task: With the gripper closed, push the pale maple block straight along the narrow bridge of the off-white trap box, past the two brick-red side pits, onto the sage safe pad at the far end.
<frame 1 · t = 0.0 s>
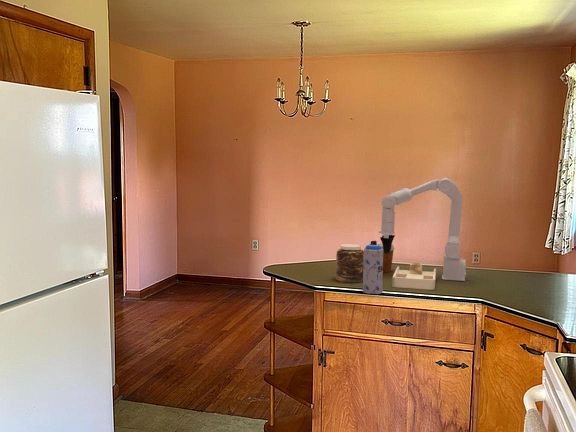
hand: (387, 252, 239), 10 cm above the worktop, fingers open, 5 cm apart
aerosol can: (372, 292, 208), on the worktop
disposable coffee cup: (384, 271, 248), on the worktop, touching gripper
trap box: (414, 282, 225), on the worktop
jar: (349, 280, 228), on the worktop
maple block: (415, 273, 231), point 2 cm above the worktop, touching trap box
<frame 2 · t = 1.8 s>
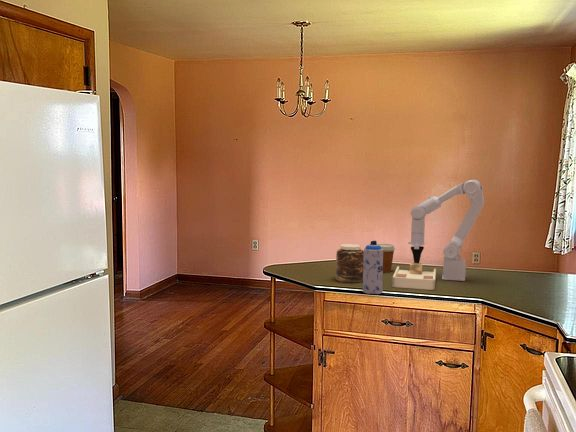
hand: (416, 262, 238), 6 cm above the worktop, fingers closed
disposable coffee cup: (384, 271, 248), on the worktop
everything else where it was.
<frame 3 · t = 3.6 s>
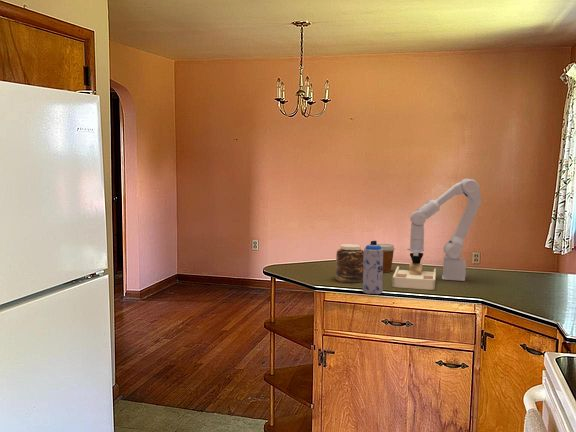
hand: (416, 269, 234), 4 cm above the worktop, fingers closed
maple block: (415, 273, 230), point 3 cm above the worktop, touching gripper
everything else where it was.
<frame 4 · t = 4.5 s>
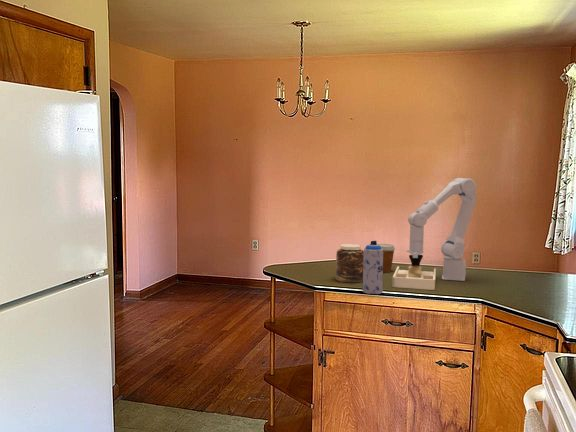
hand: (415, 271, 229), 4 cm above the worktop, fingers closed
maple block: (414, 276, 225), point 3 cm above the worktop, touching gripper
everything else where it was.
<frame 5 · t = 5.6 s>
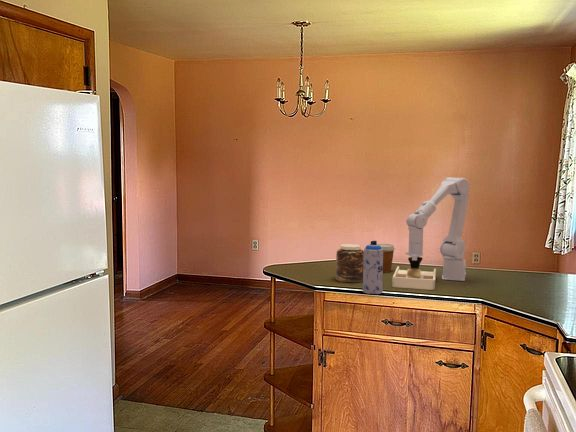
hand: (414, 274, 223), 4 cm above the worktop, fingers closed
maple block: (413, 278, 219), point 3 cm above the worktop, touching gripper
everything else where it was.
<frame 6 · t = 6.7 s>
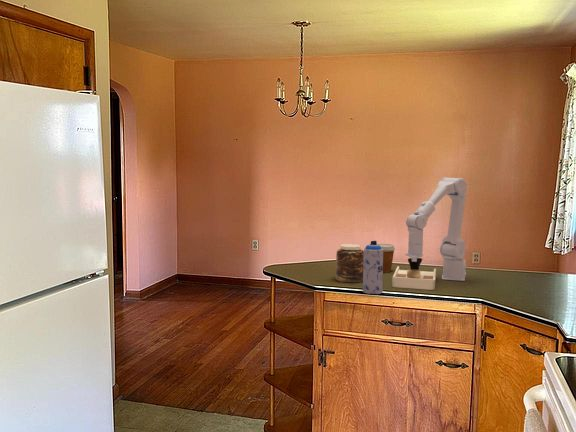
hand: (414, 275, 221), 4 cm above the worktop, fingers closed
maple block: (413, 280, 217), point 2 cm above the worktop, touching gripper, trap box
everything else where it was.
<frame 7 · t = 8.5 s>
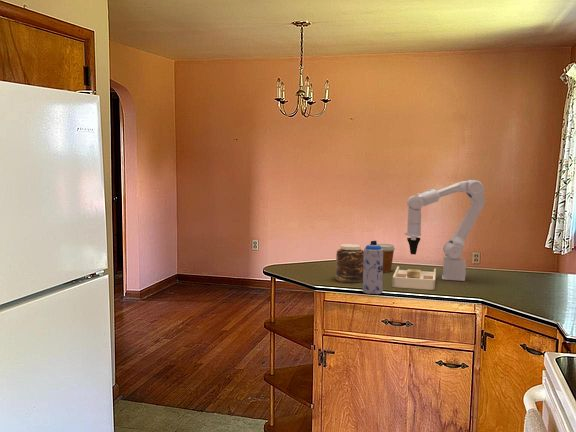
hand: (413, 254, 233), 10 cm above the worktop, fingers closed
maple block: (413, 280, 217), point 2 cm above the worktop, touching trap box
everything else where it was.
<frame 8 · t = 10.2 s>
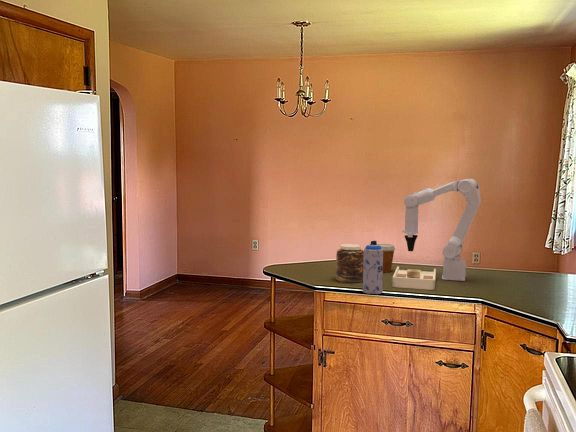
hand: (410, 251, 241), 10 cm above the worktop, fingers closed
nothing on the worktop moved.
at the end: maple block inside the target area on the trap box (0.2 cm from its centre), point 2.5 cm above the trap box's base; maple block tilted 0°; maple block touching trap box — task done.
